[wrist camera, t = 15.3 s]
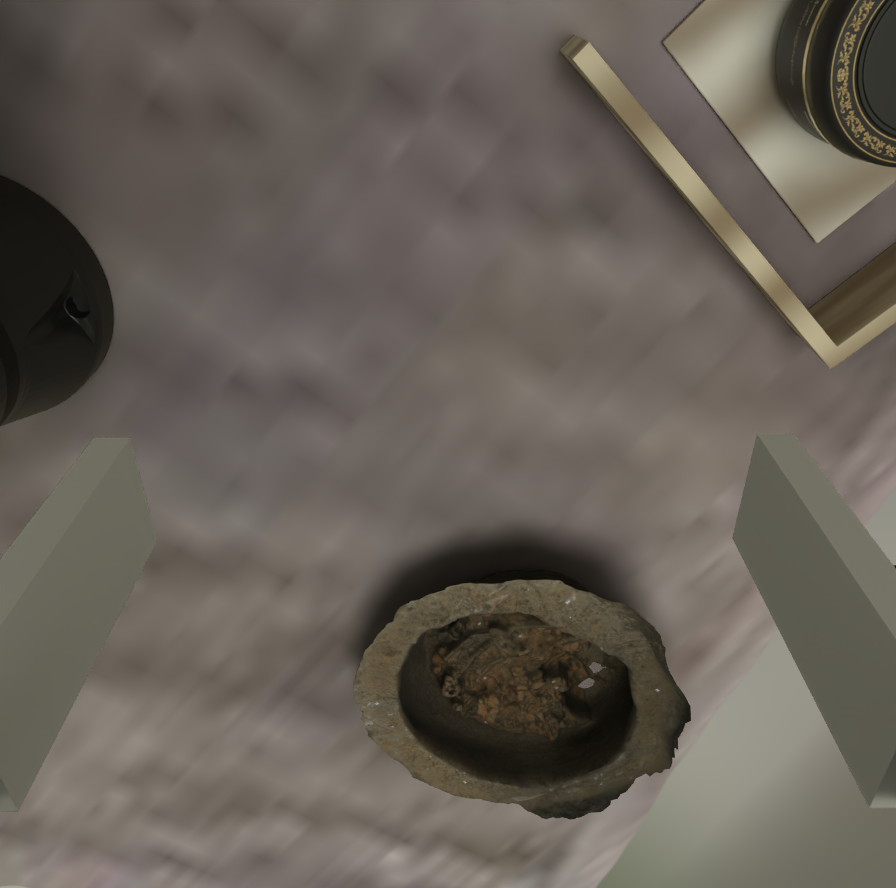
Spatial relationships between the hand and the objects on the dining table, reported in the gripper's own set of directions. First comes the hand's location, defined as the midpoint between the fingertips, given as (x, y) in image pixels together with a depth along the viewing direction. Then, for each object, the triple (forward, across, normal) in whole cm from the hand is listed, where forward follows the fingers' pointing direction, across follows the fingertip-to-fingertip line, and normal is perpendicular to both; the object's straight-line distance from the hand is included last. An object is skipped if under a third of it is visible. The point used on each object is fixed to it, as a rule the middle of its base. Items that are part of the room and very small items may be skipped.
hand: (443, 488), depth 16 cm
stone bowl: (+32, +5, -37) cm, 50 cm away
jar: (+31, +22, +6) cm, 39 cm away
